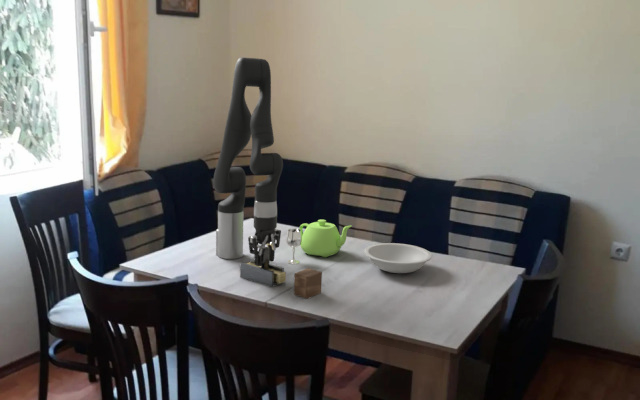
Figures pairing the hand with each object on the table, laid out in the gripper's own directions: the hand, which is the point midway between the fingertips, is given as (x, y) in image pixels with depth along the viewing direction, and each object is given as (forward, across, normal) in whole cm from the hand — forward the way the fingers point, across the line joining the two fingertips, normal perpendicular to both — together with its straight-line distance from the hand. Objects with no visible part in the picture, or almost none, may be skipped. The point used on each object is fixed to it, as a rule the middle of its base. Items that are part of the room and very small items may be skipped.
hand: (264, 263), depth 212 cm
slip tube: (+5, 0, 0) cm, 5 cm away
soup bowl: (+6, -40, +28) cm, 49 cm away
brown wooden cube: (+6, 0, +18) cm, 19 cm away
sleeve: (+6, 0, -1) cm, 6 cm away
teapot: (+6, -38, -3) cm, 39 cm away
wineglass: (+6, -22, -5) cm, 23 cm away
